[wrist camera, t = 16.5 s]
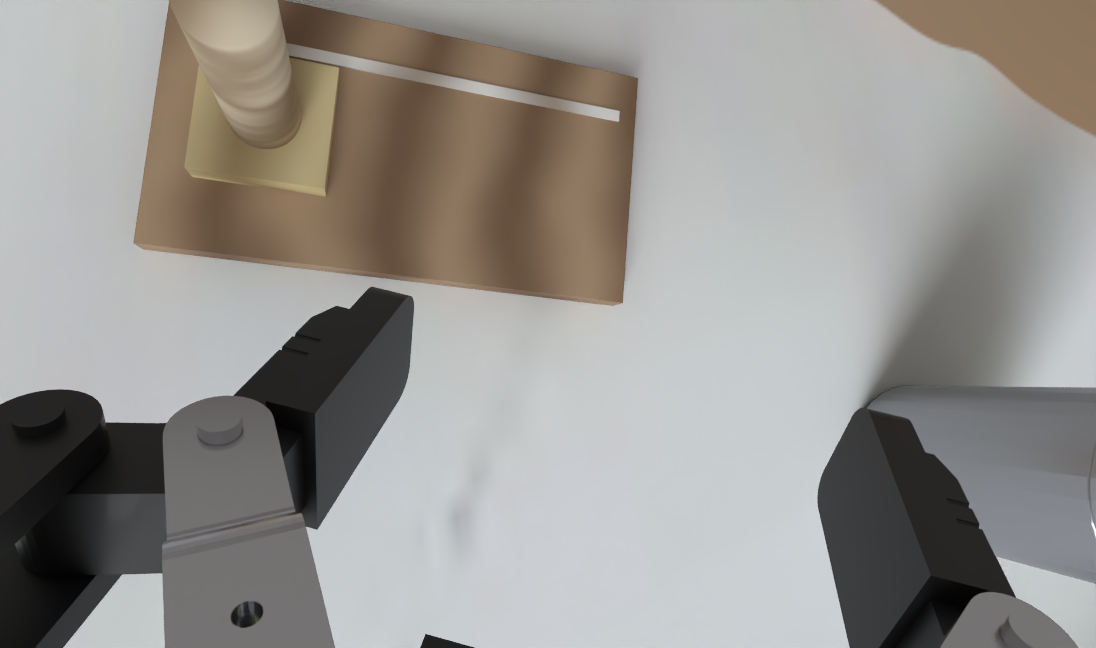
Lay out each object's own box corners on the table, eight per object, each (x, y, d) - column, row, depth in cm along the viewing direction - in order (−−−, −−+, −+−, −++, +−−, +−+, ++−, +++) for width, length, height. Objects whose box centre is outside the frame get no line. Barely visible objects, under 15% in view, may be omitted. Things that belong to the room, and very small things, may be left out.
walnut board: (627, 89, 40) (638, 77, 38) (612, 305, 38) (623, 302, 37) (180, -7, 33) (172, -26, 32) (143, 249, 32) (132, 242, 30)
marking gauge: (339, 81, 34) (332, -66, 23) (325, 196, 33) (310, 104, 22) (209, 55, 32) (132, -116, 21) (191, 176, 31) (103, 66, 20)
